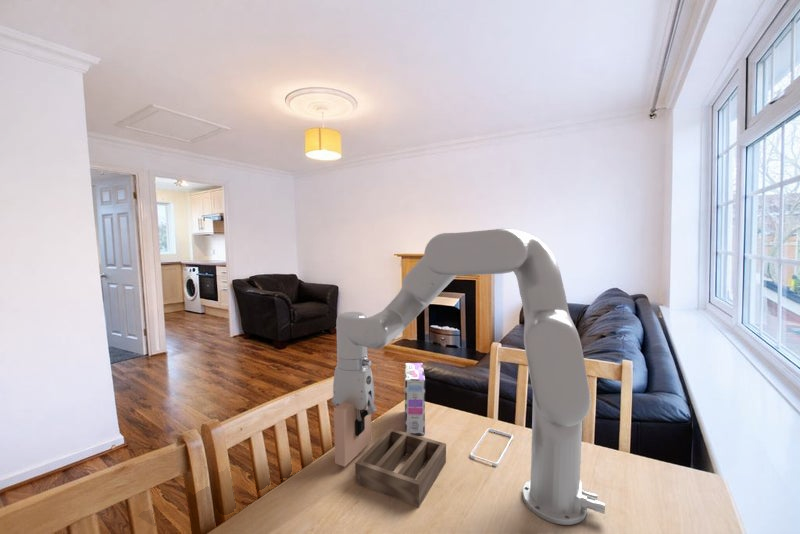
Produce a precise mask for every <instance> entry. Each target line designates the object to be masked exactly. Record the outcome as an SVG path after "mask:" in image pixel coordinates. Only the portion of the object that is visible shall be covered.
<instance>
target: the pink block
mask: <svg viewBox="0 0 800 534" xmlns="http://www.w3.org/2000/svg"><path fill="white" fill-rule="evenodd" d="M367 408H368V406H367V407H366V409H367ZM356 420H357V416H356V409H355V408H354V407H353V404H350V403H346V402H342V403H341V404H339V405H338V406H336V405H335V407H334V408H333V430H334V432H333V434H334V437H333V439H334V440H333V441H334V463H335V465H336V464H337V465H339V466H342V467H346V466H347V465H348V464H350V463H351V462H352V461H353V459H355V458H356V457H357V456H358V455H359V454H360V453H361V452H362V451H363V450H364V449H365V448H366V447H367V446H368V445H369V444H370V443H371V442H372V414H369V415H367V416H366V417H365V429H364V431H363V432H362V433H361V434H360V435H359V436H356V435H355V421H356Z"/></svg>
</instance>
